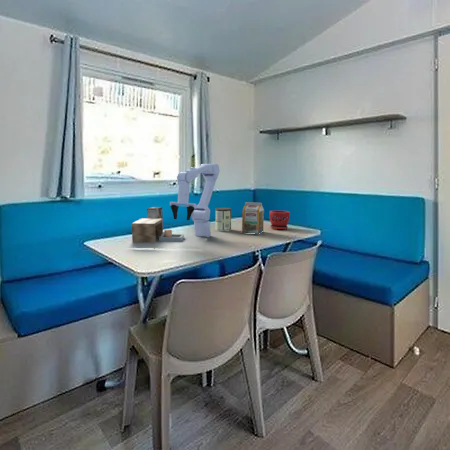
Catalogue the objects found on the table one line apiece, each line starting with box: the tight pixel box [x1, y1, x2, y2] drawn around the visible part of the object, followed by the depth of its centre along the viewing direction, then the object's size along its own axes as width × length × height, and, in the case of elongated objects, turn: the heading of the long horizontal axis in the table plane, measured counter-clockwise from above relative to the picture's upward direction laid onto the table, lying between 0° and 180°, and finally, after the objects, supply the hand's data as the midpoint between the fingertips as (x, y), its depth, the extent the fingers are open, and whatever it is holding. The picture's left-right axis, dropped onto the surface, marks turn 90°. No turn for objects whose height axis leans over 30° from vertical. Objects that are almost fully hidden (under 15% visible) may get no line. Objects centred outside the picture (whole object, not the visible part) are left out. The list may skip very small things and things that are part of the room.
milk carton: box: [241, 201, 265, 235], centre depth 211 cm, size 11×11×19 cm
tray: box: [158, 233, 185, 242], centre depth 187 cm, size 12×9×3 cm
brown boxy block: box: [131, 217, 164, 244], centre depth 187 cm, size 12×18×11 cm, turn 177°
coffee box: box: [146, 206, 164, 220], centre depth 205 cm, size 9×6×16 cm
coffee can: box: [215, 207, 232, 232], centre depth 221 cm, size 10×10×14 cm
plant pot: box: [269, 210, 291, 230], centre depth 227 cm, size 13×13×12 cm
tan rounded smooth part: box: [163, 229, 173, 237], centre depth 186 cm, size 4×4×5 cm
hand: (181, 219), depth 183 cm, fingers open, 7 cm apart
